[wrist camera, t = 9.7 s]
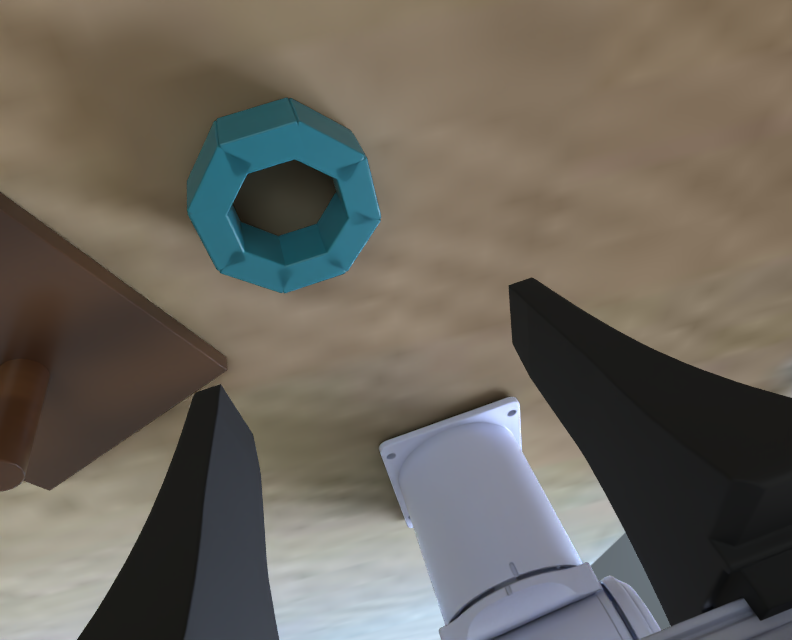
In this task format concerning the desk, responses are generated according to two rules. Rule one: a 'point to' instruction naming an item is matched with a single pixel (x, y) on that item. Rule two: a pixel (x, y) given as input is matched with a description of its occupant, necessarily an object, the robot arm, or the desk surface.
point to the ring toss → (80, 356)
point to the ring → (268, 146)
